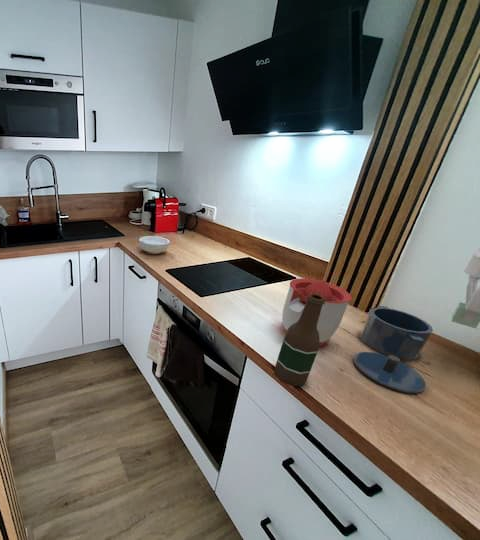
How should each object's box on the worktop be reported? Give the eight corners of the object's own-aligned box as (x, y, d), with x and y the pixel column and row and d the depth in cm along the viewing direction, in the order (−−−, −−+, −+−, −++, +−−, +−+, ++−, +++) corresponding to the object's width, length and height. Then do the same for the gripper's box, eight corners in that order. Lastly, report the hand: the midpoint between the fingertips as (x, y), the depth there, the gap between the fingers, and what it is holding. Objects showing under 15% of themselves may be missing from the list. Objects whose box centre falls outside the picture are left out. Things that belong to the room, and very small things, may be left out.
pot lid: (403, 361, 82) (411, 346, 80) (438, 401, 69) (448, 385, 67) (344, 350, 86) (350, 336, 83) (367, 386, 73) (375, 370, 71)
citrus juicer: (262, 329, 95) (277, 274, 87) (296, 318, 101) (313, 266, 93) (306, 358, 82) (329, 297, 74) (343, 344, 88) (367, 287, 80)
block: (452, 315, 82) (459, 302, 80) (475, 322, 78) (484, 308, 77) (451, 321, 79) (458, 307, 77) (475, 328, 76) (484, 314, 74)
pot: (396, 332, 95) (408, 307, 92) (435, 371, 79) (452, 343, 75) (349, 324, 99) (359, 300, 95) (377, 360, 82) (390, 332, 78)
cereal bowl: (174, 251, 162) (175, 240, 160) (157, 259, 151) (158, 246, 148) (150, 245, 173) (150, 233, 170) (132, 251, 161) (133, 239, 158)
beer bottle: (311, 379, 74) (343, 299, 65) (296, 392, 70) (328, 308, 61) (282, 362, 80) (307, 286, 70) (266, 373, 76) (291, 293, 66)
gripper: (516, 286, 64) (484, 336, 70) (510, 264, 76) (483, 309, 82) (473, 277, 68) (447, 325, 74) (474, 258, 81) (451, 300, 86)
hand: (466, 316), depth 78 cm, fingers closed on block, 4 cm apart
